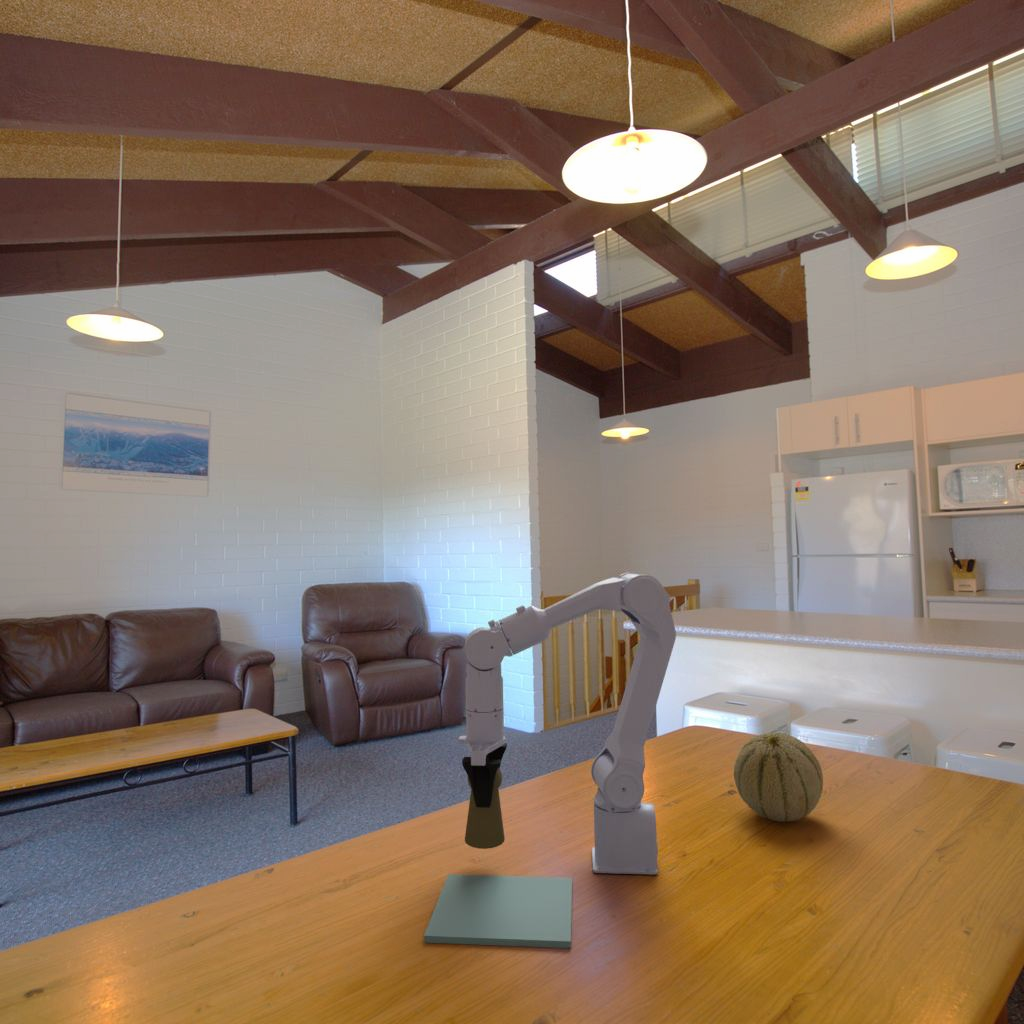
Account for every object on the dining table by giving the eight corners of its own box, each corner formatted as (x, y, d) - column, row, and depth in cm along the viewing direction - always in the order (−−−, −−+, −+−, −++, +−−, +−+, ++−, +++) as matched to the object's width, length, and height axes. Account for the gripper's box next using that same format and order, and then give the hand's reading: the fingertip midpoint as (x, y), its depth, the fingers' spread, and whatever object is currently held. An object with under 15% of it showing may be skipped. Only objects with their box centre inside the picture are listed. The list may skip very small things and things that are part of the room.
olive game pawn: (498, 851, 100) (498, 774, 101) (459, 845, 102) (459, 770, 102) (509, 833, 106) (509, 761, 106) (471, 828, 108) (472, 757, 108)
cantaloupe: (808, 803, 128) (805, 721, 129) (838, 836, 113) (834, 743, 114) (727, 802, 129) (724, 720, 130) (745, 834, 115) (742, 742, 115)
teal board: (572, 883, 99) (572, 877, 99) (570, 948, 83) (570, 941, 83) (448, 879, 101) (448, 874, 101) (423, 942, 85) (423, 935, 85)
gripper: (466, 697, 112) (468, 782, 112) (449, 719, 98) (450, 817, 97) (509, 697, 112) (511, 783, 111) (498, 720, 97) (500, 818, 96)
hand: (486, 799), depth 104 cm, fingers closed on olive game pawn, 5 cm apart
